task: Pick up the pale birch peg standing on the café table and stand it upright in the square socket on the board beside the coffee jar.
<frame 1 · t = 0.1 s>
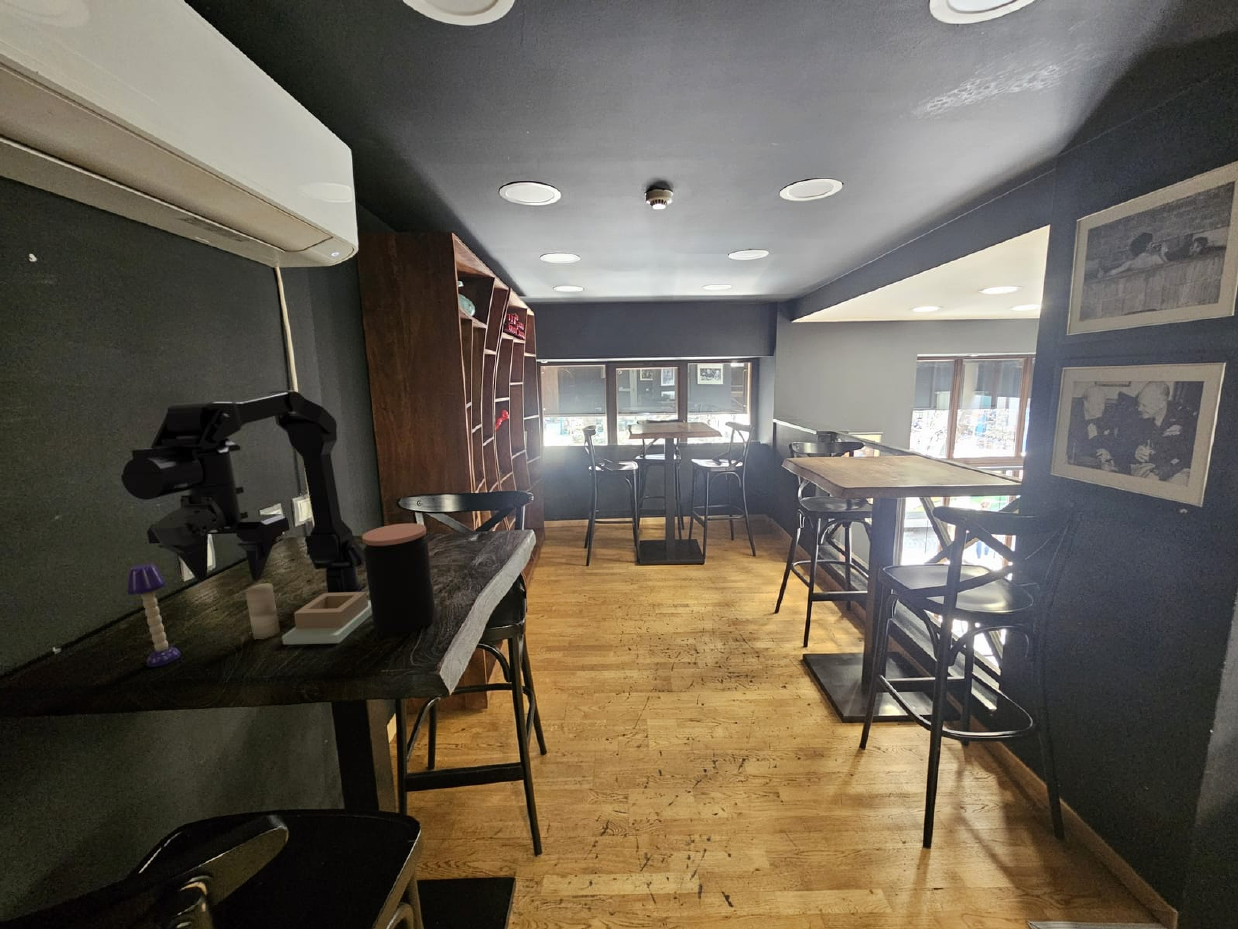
hand: (229, 580, 78), 14 cm above the table, fingers open, 9 cm apart
toy lamp: (163, 660, 83), on the table
birch peg: (266, 634, 90), on the table
coffee jar: (406, 625, 92), on the table
socket board: (335, 624, 93), on the table
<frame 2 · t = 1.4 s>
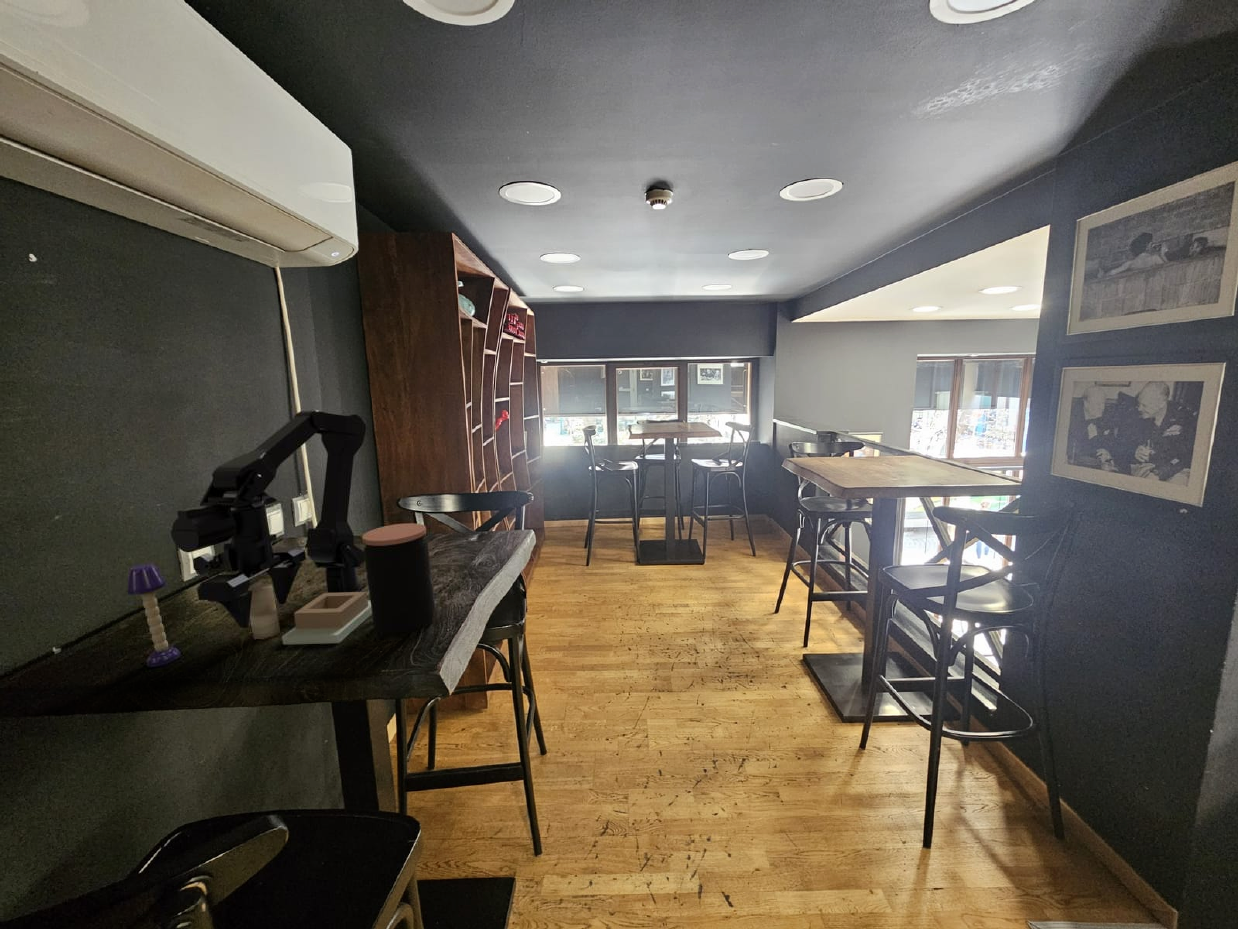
hand: (264, 615, 90), 4 cm above the table, fingers open, 9 cm apart
nothing on the table moved.
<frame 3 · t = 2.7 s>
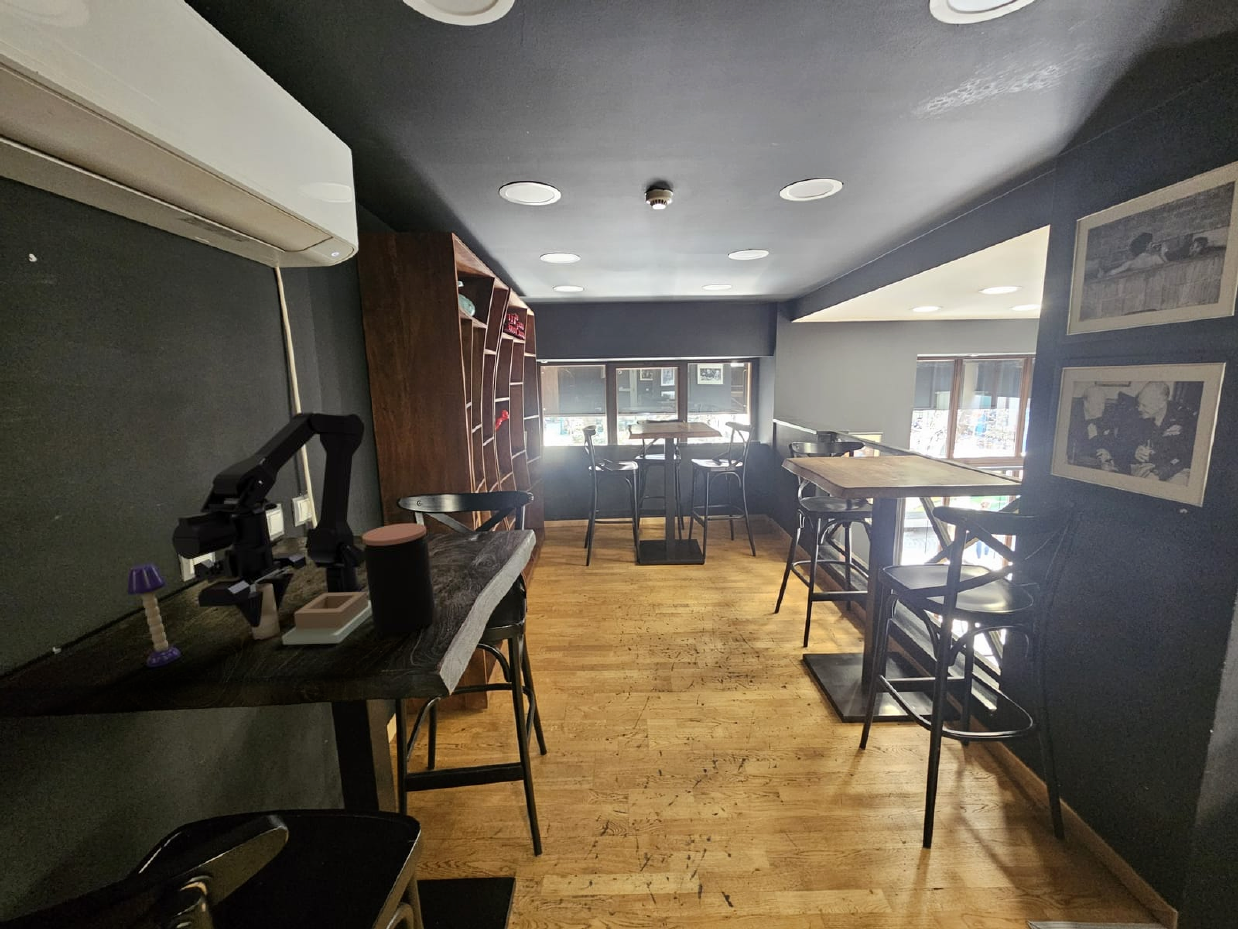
hand: (264, 621, 90), 3 cm above the table, fingers closed on birch peg, 4 cm apart
birch peg: (266, 634, 90), on the table, touching gripper
everything else where it was.
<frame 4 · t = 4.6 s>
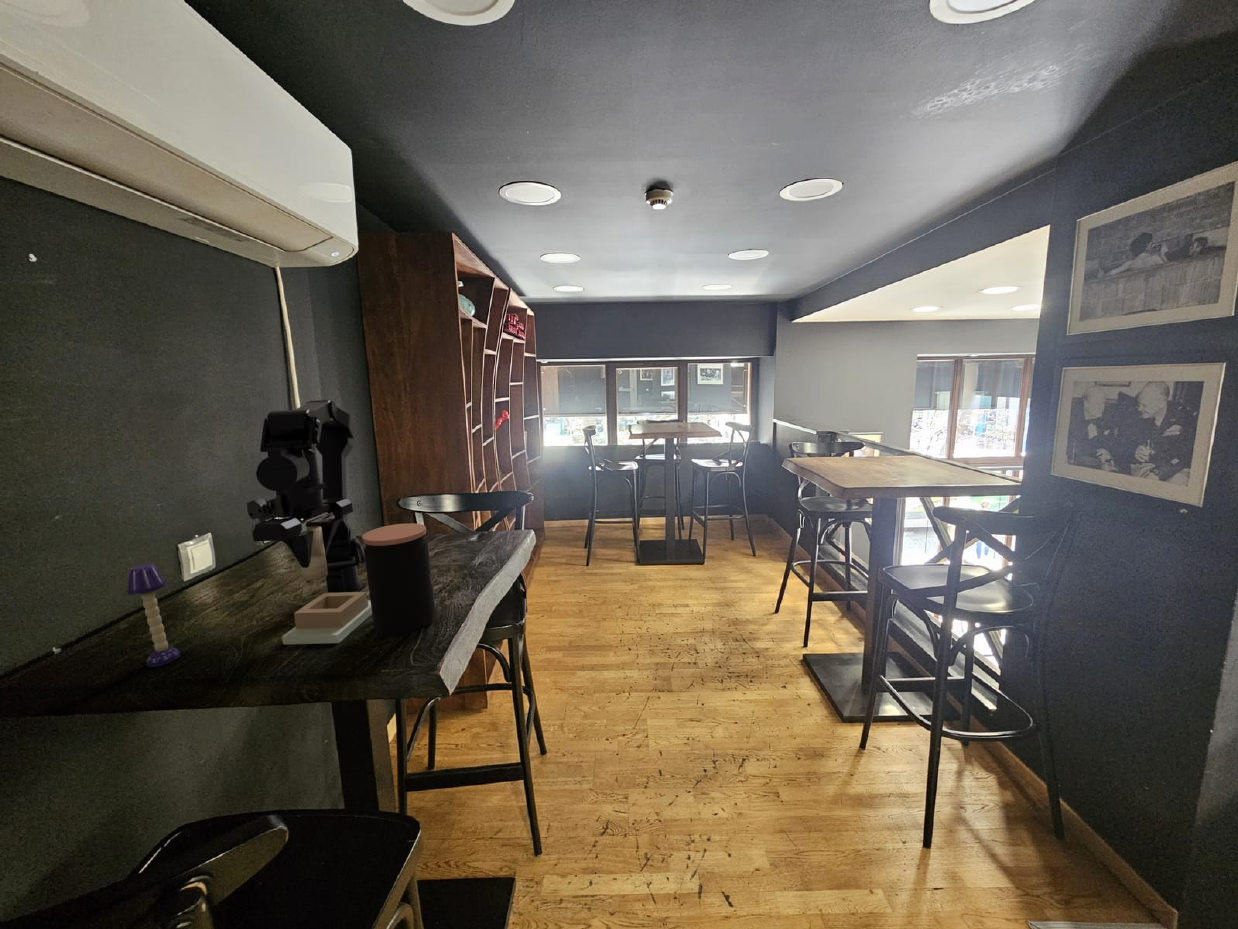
hand: (313, 563, 90), 12 cm above the table, fingers closed on birch peg, 4 cm apart
birch peg: (315, 576, 91), point 10 cm above the table, touching gripper
everything else where it was.
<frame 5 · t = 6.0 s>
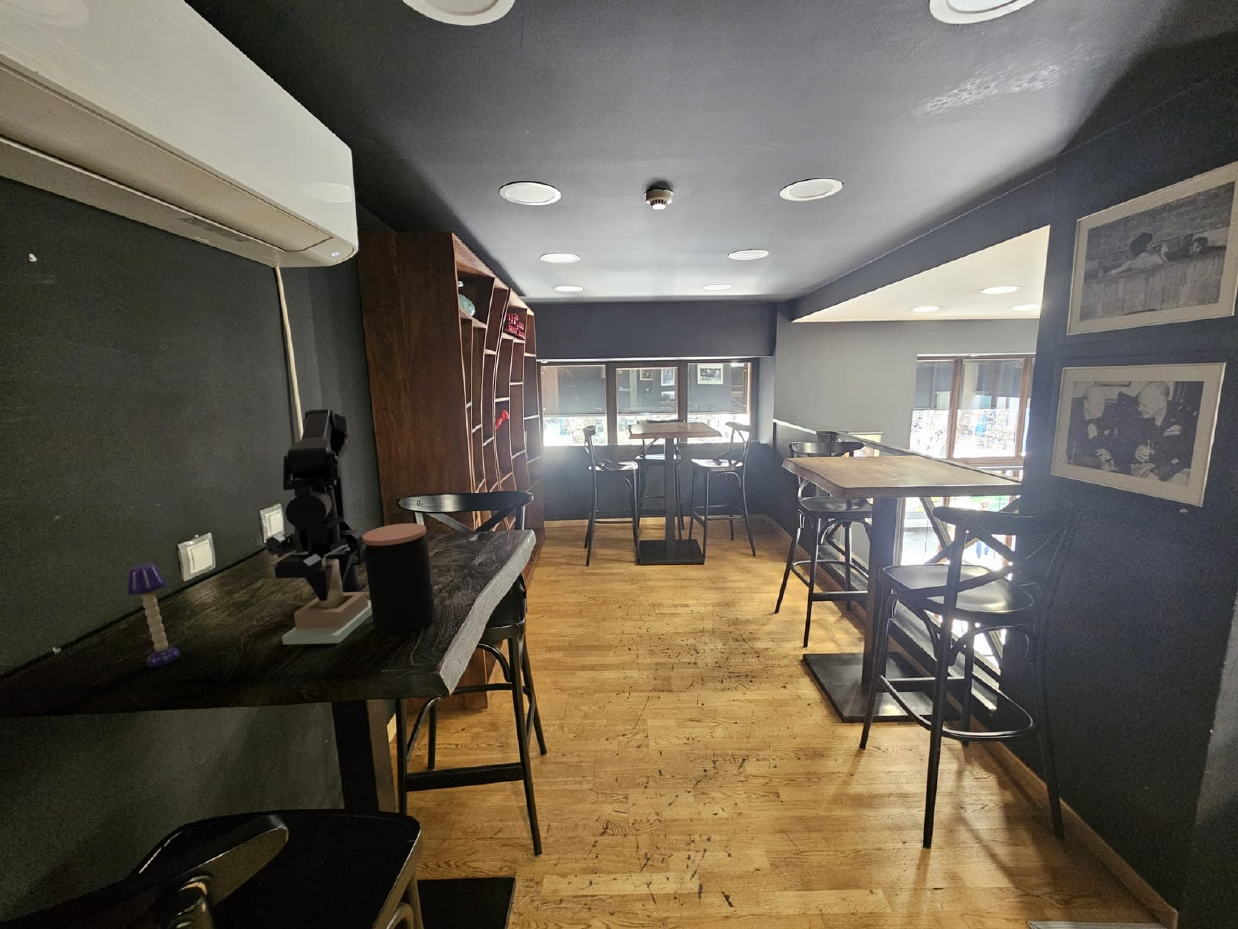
hand: (330, 595, 92), 6 cm above the table, fingers closed on birch peg, 4 cm apart
birch peg: (332, 608, 92), point 3 cm above the table, touching gripper
everything else where it was.
when the fingers open (5 cm above the table, at t = 6.8 s): birch peg drops 1 cm, resting on socket board.
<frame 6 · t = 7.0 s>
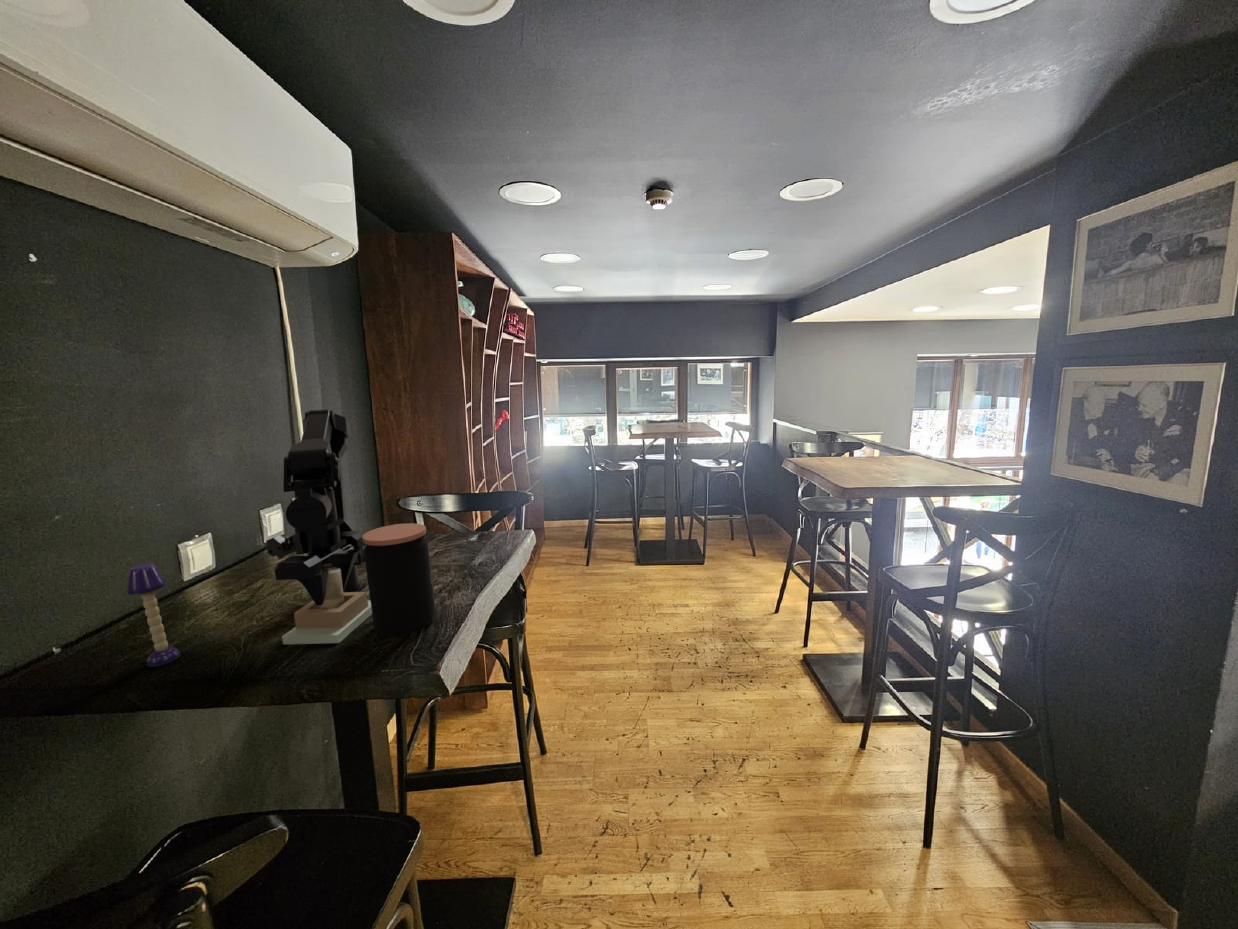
hand: (331, 597, 92), 5 cm above the table, fingers open, 6 cm apart
birch peg: (333, 616, 92), point 2 cm above the table, touching socket board
everything else where it was.
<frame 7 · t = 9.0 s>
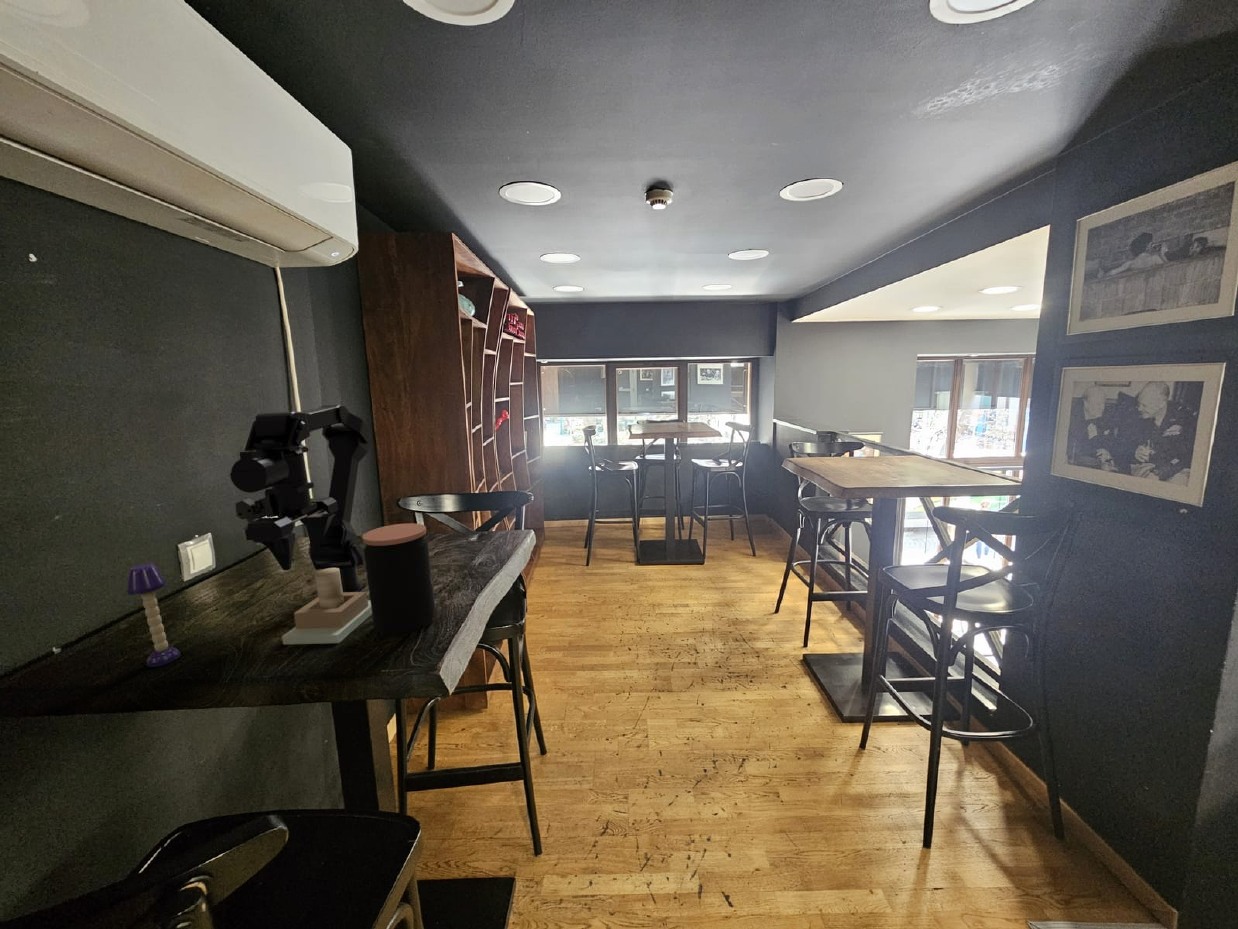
hand: (302, 560, 93), 12 cm above the table, fingers open, 9 cm apart
nothing on the table moved.
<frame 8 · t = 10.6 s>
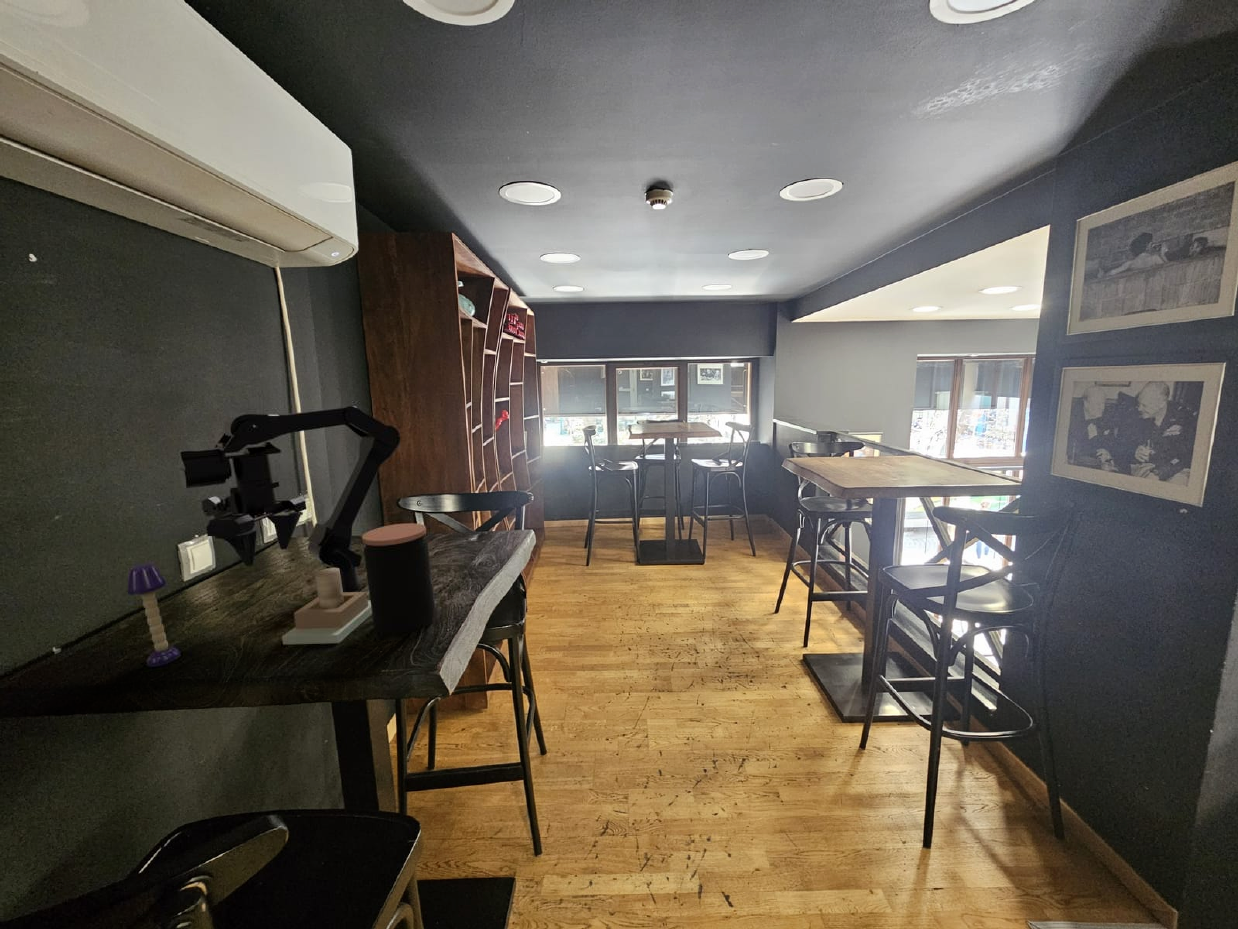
hand: (267, 557, 96), 12 cm above the table, fingers open, 9 cm apart
nothing on the table moved.
at the end: birch peg 0.0 cm off-centre on the socket board, point 1.5 cm above the socket board's base; birch peg tilted 0°; the gripper is holding nothing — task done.
